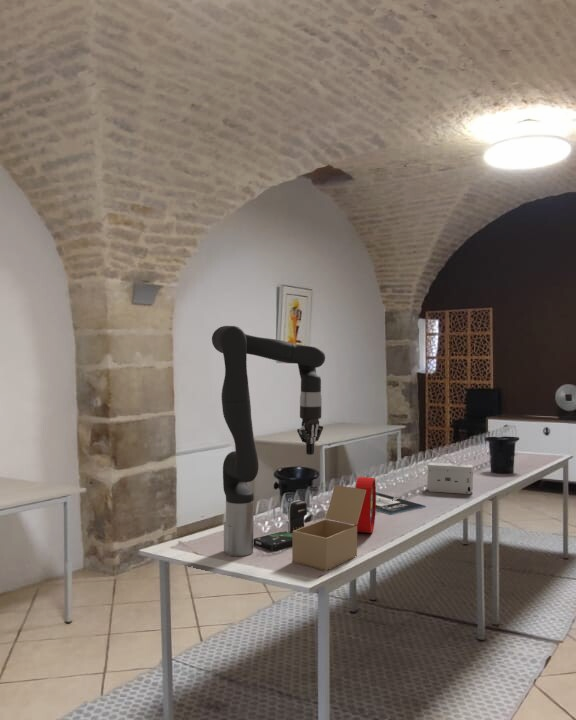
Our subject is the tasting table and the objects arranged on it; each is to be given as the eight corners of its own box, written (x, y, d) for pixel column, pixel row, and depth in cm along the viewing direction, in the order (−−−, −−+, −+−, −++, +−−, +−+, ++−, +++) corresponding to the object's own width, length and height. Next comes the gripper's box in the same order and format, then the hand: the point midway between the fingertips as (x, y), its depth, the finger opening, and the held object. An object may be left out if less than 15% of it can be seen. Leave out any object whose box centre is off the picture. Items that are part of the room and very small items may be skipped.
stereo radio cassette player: (472, 491, 316) (473, 449, 316) (472, 495, 308) (473, 452, 308) (427, 488, 322) (428, 447, 321) (426, 492, 314) (427, 450, 313)
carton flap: (365, 489, 223) (366, 490, 224) (335, 484, 230) (335, 485, 231) (356, 524, 219) (357, 525, 219) (325, 518, 226) (326, 518, 227)
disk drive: (272, 553, 223) (304, 544, 233) (272, 545, 222) (304, 536, 232) (252, 546, 230) (284, 537, 240) (252, 538, 230) (284, 529, 240)
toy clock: (369, 539, 237) (370, 483, 237) (353, 538, 239) (354, 482, 238) (375, 524, 257) (376, 473, 256) (360, 523, 258) (361, 472, 257)
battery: (294, 535, 242) (295, 504, 241) (287, 533, 244) (287, 502, 244) (308, 531, 247) (308, 500, 246) (300, 529, 249) (301, 499, 249)
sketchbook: (390, 516, 272) (390, 511, 272) (340, 501, 296) (341, 497, 296) (425, 508, 285) (425, 503, 285) (375, 495, 309) (375, 490, 309)
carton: (326, 570, 204) (326, 538, 204) (292, 562, 212) (292, 530, 212) (356, 556, 219) (357, 525, 219) (323, 548, 227) (324, 519, 226)
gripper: (312, 402, 239) (312, 450, 240) (290, 405, 229) (290, 455, 229) (330, 404, 235) (329, 453, 235) (308, 406, 224) (307, 458, 225)
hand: (310, 454), depth 232 cm, fingers closed
